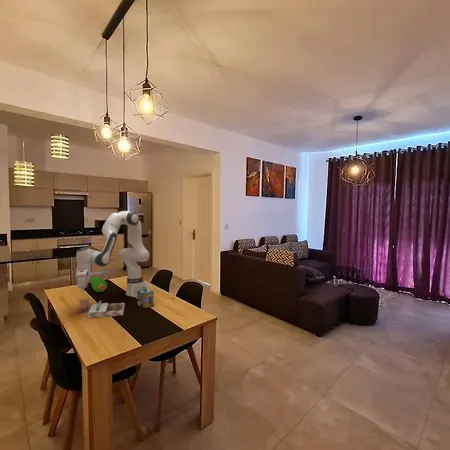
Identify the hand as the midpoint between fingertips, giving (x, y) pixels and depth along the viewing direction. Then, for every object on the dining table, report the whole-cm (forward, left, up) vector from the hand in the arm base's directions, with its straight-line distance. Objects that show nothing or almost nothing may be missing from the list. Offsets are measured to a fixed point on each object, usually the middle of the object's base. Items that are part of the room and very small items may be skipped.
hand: (84, 289), depth 189 cm
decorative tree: (-2, -47, -15) cm, 49 cm away
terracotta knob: (0, 0, -15) cm, 15 cm away
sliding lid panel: (-10, +8, -11) cm, 18 cm away
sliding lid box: (-16, +8, -15) cm, 23 cm away
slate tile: (0, 0, -15) cm, 15 cm away
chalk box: (-42, 0, -16) cm, 45 cm away
